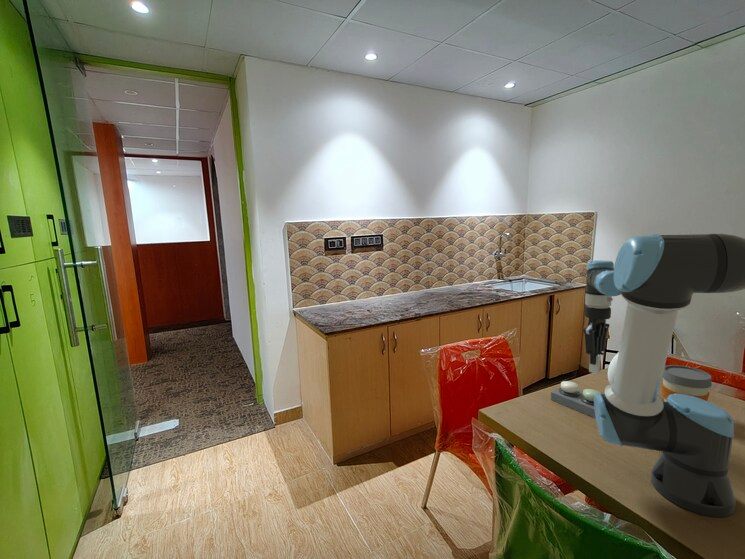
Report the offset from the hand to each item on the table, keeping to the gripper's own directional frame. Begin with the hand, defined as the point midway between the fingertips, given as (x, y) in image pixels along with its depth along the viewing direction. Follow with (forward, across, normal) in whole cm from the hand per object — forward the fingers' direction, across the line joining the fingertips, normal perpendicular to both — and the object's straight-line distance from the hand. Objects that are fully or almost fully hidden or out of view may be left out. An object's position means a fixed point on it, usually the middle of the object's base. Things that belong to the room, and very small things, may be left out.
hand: (594, 372), depth 121 cm
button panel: (+14, +1, 0) cm, 14 cm away
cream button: (+10, +1, +8) cm, 13 cm away
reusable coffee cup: (+14, +22, -18) cm, 32 cm away
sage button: (+10, +1, 0) cm, 10 cm away
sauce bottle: (+14, +24, +2) cm, 27 cm away
